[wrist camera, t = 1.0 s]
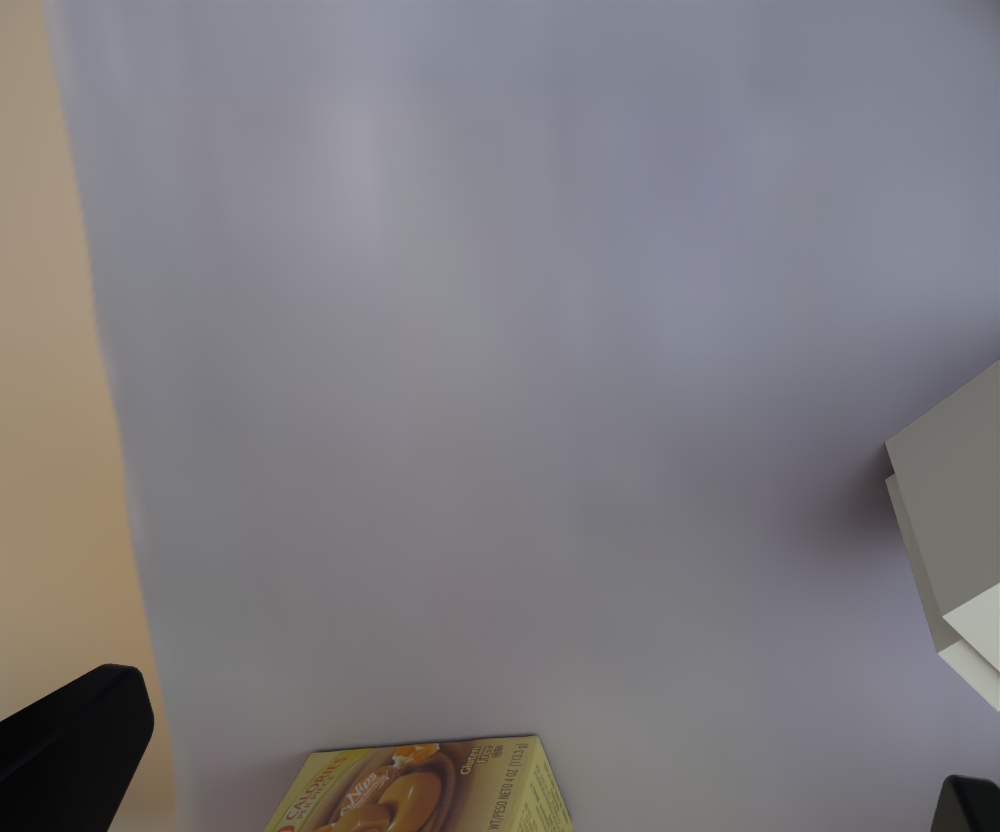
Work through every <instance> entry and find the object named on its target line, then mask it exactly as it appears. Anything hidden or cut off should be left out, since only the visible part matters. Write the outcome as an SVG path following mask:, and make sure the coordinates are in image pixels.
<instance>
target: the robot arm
mask: <svg viewBox="0 0 1000 832" xmlns="http://www.w3.org/2000/svg"><path fill="white" fill-rule="evenodd" d="M153 729H154V714H153V711H152V707H151V703H150V700H149V696H148V693H147V689H146V686H145V682H144V679H143V676H142V673H141V672H140V671H139V670H138V669H137V668H135V667H133V666H125V665H118V664H104V665H101V666H99V667H97V668H95V669H93V670H92V671H90V672H88V673H86V674H84V675H83V676H81V677H79V678H77V679H75V680H74V681H72V682H70V683H68V684H67V685H65V686H63V687H61V688H60V689H58V690H56V691H54V692H52V693H51V694H49V695H47V696H45V697H44V698H42V699H40V700H38V701H36V702H34V703H33V704H31V705H29V706H28V707H26V708H24V709H22V710H20V711H19V712H17V713H15V714H13V715H11V716H10V717H8V718H6V719H4V720H2V721H1V722H0V832H107V831H108V829H109V827H110V825H111V823H112V820H113V818H114V816H115V814H116V812H117V810H118V808H119V805H120V803H121V801H122V799H123V797H124V795H125V793H126V790H127V788H128V786H129V784H130V782H131V780H132V777H133V775H134V773H135V771H136V769H137V767H138V765H139V763H140V760H141V758H142V756H143V754H144V752H145V750H146V747H147V745H148V743H149V741H150V739H151V736H152V733H153ZM930 832H1000V787H999V786H998V785H997V784H995V783H994V782H993V781H991V780H988V779H984V778H976V777H969V776H961V775H950V776H948V777H947V778H946V779H945V781H944V783H943V785H942V789H941V793H940V796H939V800H938V804H937V808H936V811H935V815H934V819H933V822H932V826H931V831H930Z"/></svg>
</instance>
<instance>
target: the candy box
mask: <svg viewBox="0 0 1000 832" xmlns="http://www.w3.org/2000/svg"><path fill="white" fill-rule="evenodd" d="M263 832H573V824H572V821H571V818H570V816H569V813H568V811H567V809H566V806H565V804H564V802H563V799H562V796H561V794H560V791H559V789H558V786H557V783H556V781H555V778H554V775H553V772H552V770H551V768H550V765H549V762H548V759H547V757H546V754H545V752H544V749H543V747H542V744H541V741H540V738H539V737H538V736H536V735H534V736H528V737H509V738H491V739H478V740H471V741H463V742H452V743H429V744H417V745H405V746H396V747H382V748H365V749H355V750H341V751H334V752H319V753H312V754H310V755H309V756H308V758H307V760H306V762H305V763H304V765H303V767H302V768H301V770H300V772H299V773H298V775H297V777H296V778H295V780H294V781H293V783H292V785H291V786H290V788H289V790H288V791H287V793H286V795H285V796H284V798H283V800H282V801H281V803H280V804H279V806H278V808H277V809H276V811H275V812H274V814H273V816H272V817H271V819H270V821H269V822H268V824H267V825H266V827H265V828H264V830H263Z"/></svg>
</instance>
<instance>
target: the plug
mask: <svg viewBox="0 0 1000 832" xmlns="http://www.w3.org/2000/svg"><path fill="white" fill-rule="evenodd" d="M885 444H886V447H887V450H888V454H889V457H890V460H891V463H892V466H893V469H894V472H895V473H894V474H893V475H891V476H890V477H888V478H887V479H885V482H886V485H887V488H888V491H889V495H890V498H891V501H892V505H893V508H894V511H895V515H896V518H897V521H898V525H899V528H900V531H901V535H902V538H903V541H904V545H905V548H906V551H907V555H908V558H909V561H910V565H911V568H912V571H913V575H914V578H915V581H916V585H917V588H918V591H919V595H920V598H921V601H922V605H923V608H924V611H925V615H926V618H927V621H928V625H929V628H930V631H931V635H932V638H933V641H934V645H935V648H936V651H937V654H938V655H939V656H940V657H941V658H943V659H944V660H945V661H946V662H947V663H948V664H949V665H950V666H951V667H952V668H953V669H954V670H955V671H956V672H957V673H958V674H959V675H960V676H961V677H962V678H964V679H965V680H966V681H967V682H968V683H969V684H970V685H971V686H972V687H973V688H974V689H975V690H976V691H977V692H978V693H979V694H980V695H981V696H982V697H984V698H985V699H986V700H987V701H988V702H989V703H990V704H991V705H992V706H993V707H994V708H995V709H996V710H997V711H998V712H999V711H1000V359H999V360H998V361H996V362H995V363H993V364H992V365H991V366H989V367H988V368H987V369H985V370H984V371H982V372H981V373H980V374H978V375H977V376H975V377H974V378H973V379H971V380H970V381H969V382H967V383H966V384H964V385H963V386H962V387H960V388H959V389H958V390H956V391H955V392H953V393H952V394H951V395H949V396H948V397H946V398H945V399H944V400H942V401H941V402H940V403H938V404H937V405H935V406H934V407H933V408H931V409H930V410H928V411H927V412H926V413H924V414H923V415H922V416H920V417H919V418H917V419H916V420H915V421H913V422H912V423H911V424H909V425H908V426H906V427H905V428H904V429H902V430H901V431H899V432H898V433H897V434H895V435H894V436H893V437H891V438H890V439H888V440H887V441H886V442H885Z"/></svg>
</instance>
